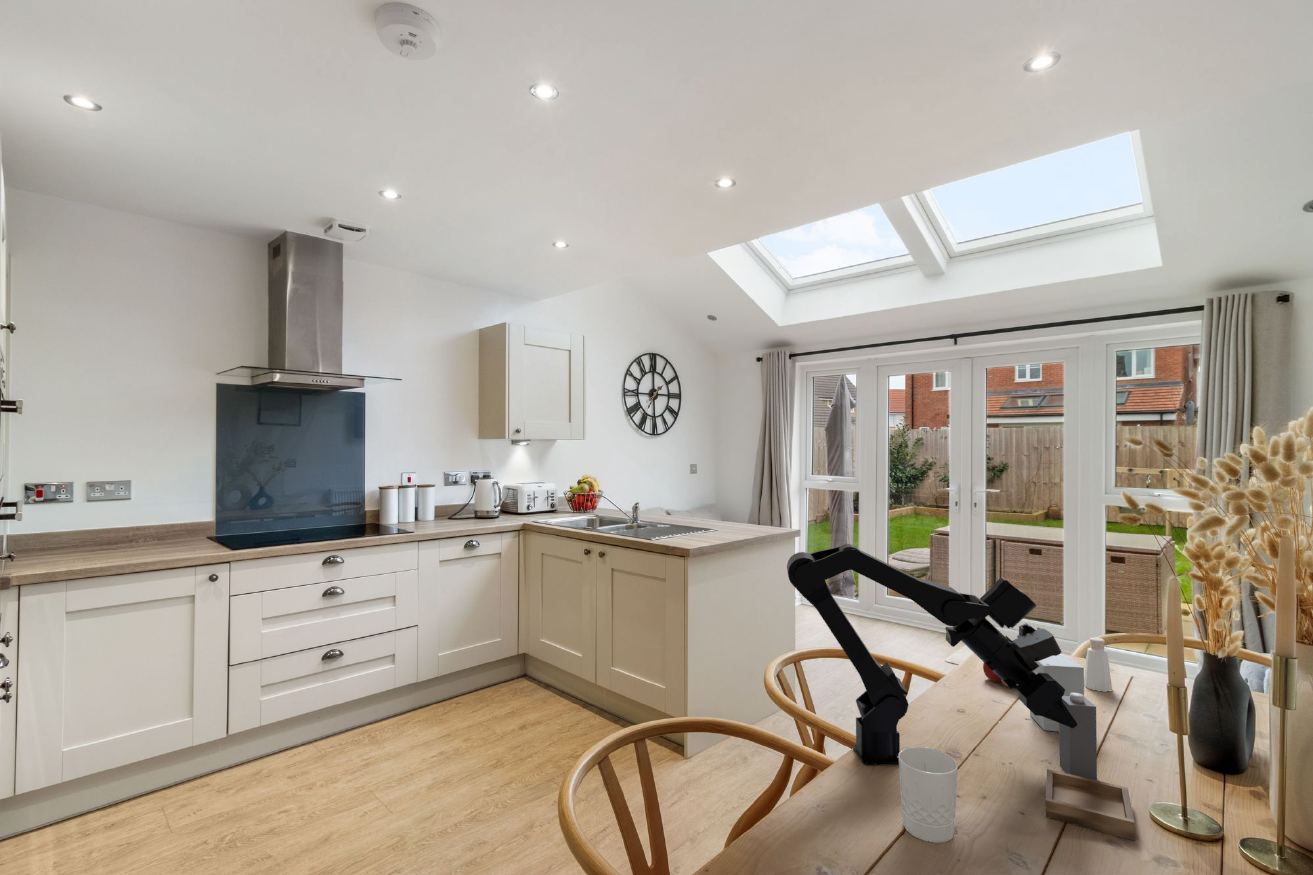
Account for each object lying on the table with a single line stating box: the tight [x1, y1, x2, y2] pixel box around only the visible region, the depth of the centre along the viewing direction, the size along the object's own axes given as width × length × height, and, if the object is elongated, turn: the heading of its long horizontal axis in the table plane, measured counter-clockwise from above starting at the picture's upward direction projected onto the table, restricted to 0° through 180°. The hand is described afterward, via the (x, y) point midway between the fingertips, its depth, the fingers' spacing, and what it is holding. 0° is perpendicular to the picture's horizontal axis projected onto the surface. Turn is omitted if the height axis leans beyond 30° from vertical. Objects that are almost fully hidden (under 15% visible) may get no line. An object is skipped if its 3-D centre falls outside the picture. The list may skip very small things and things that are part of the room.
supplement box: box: [1029, 654, 1085, 732], centre depth 125 cm, size 7×7×13 cm
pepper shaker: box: [1084, 637, 1113, 693], centre depth 143 cm, size 5×5×11 cm
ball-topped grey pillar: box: [1058, 693, 1098, 780], centre depth 107 cm, size 4×4×13 cm
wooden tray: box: [1045, 768, 1136, 841], centre depth 96 cm, size 11×11×2 cm
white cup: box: [897, 746, 959, 844], centre depth 92 cm, size 8×8×10 cm
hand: (1062, 714), depth 107 cm, fingers open, 9 cm apart
